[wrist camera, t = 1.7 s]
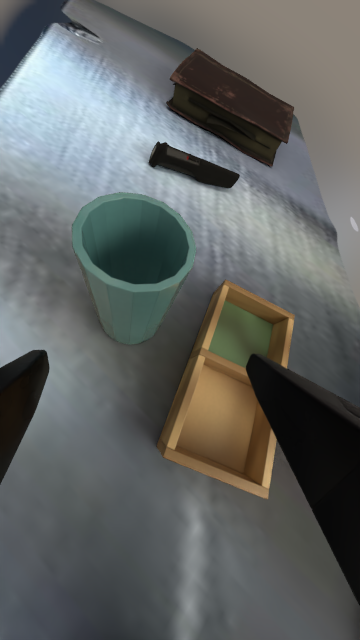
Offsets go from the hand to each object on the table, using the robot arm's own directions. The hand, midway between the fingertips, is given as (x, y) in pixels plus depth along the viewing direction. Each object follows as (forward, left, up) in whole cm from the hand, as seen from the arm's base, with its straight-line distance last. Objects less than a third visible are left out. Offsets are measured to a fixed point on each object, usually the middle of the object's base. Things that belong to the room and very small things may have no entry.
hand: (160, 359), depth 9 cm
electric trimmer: (+33, +14, -14) cm, 38 cm away
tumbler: (+5, +5, -14) cm, 16 cm away
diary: (+56, +18, -14) cm, 60 cm away
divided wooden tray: (+7, -8, -14) cm, 18 cm away
